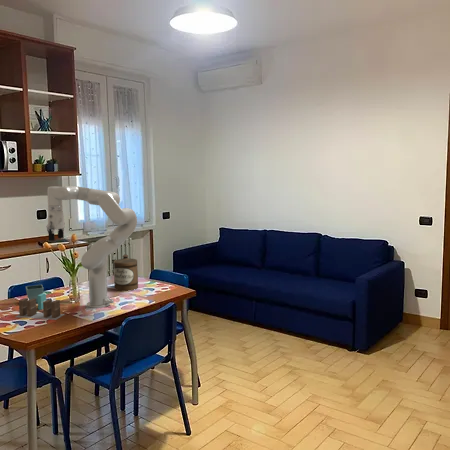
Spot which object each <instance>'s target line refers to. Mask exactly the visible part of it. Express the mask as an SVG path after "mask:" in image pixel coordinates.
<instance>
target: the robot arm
mask: <svg viewBox="0 0 450 450" xmlns="http://www.w3.org/2000/svg"><path fill="white" fill-rule="evenodd" d="M71 200H78V201H83V202H84V201H85V202H87V203H88V204H89V205H93V206H99V207H100V208H101V210H102V211H103V212H104V213H105V215H106V216H107V217H108V218H109V220H110V221H111V222H112V223H113V224H115V226H116V225H117V226H116V227H115V228H114V229H113V230H112V231H111V232H110V233H109V234H108V235H107V236H104V237H102V238H99V239H98V240H97V241H95V242H94V243H93V244H92V245H91V246H90V247H89V248H88V249H87V250H86V251H85V253H83V255H82V256H81V259H80V260H81V261H80V262H81V266H82V267H83V269H86V270H88V293H89V301H88V302H87V303H86V306H87V308H90V309H101V308H107V307H109V306H110V305H111V304H114V302H115V301H114V298H110V296H108V288H107V287H108V284H107V283H108V279H107V277H108V276H107V275H108V274H107V267H108V259H109V257H108V256H110V255H112V254H114V253H115V252H116V251H117V250H118V249H119V248H120V247H121V246H122V244H124V243H125V242H126V240H127V239H128V238H129V237H130V236H131V235H132V234H133V233H134V231H135V229H136V227H137V223H138V219H137V214H136V212H135V210H134V209H131V208H130V207H123V208H121V206H120V205H119V204H120V202H121V197H120V195H119V194H118V193H117V192H114V191H109V190H101V189H95V188H89V187H83V186H77V185H76V186H75V185H66V186H58V185H57V186H54V185H53V186H48V187H47V212H48V213H47V225H46V231H47V234H48V241H53V242H54V241H55V239H56V238H55V233H54V232H55V230H57V238H58V239H64V234H65V233H64V230H65V215H64V212H63V211H64V210H63V201H71Z"/></svg>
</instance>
